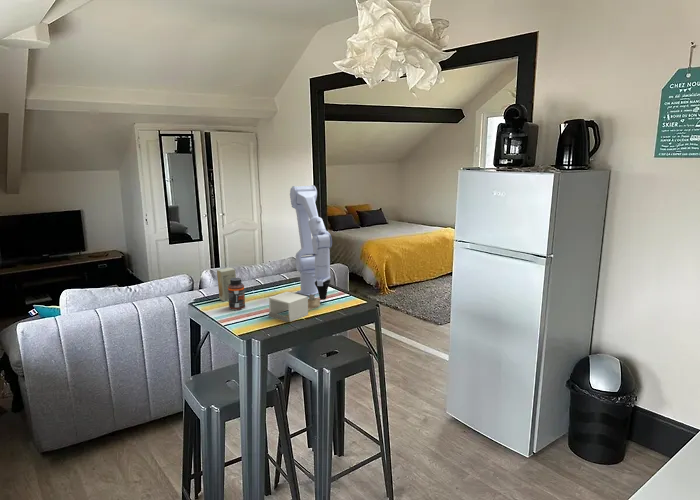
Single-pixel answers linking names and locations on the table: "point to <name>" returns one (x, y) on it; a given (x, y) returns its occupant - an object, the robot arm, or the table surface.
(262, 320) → the table surface
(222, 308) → the table surface
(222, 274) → the skincare box
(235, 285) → the supplement bottle
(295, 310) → the open shelf unit
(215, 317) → the table surface
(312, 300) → the beige toy brick
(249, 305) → the table surface
